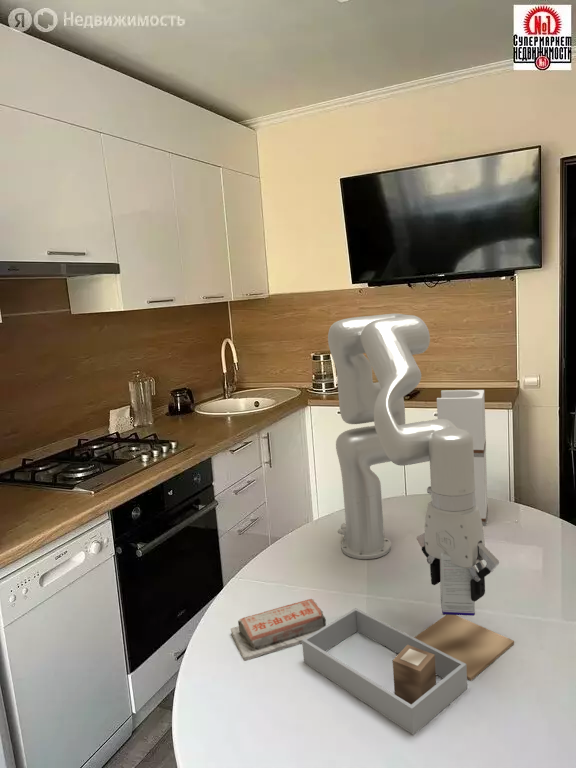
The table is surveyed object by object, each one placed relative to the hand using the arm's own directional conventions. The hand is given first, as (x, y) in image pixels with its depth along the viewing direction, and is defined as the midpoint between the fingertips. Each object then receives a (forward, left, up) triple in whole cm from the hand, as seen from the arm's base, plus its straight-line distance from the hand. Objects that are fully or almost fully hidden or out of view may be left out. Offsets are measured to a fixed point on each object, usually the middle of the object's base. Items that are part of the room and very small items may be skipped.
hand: (457, 589), depth 108 cm
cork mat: (0, 0, -11) cm, 11 cm away
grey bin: (-5, -16, -11) cm, 20 cm away
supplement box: (0, 0, -4) cm, 4 cm away
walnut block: (+2, -16, -11) cm, 20 cm away
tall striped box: (-32, +50, -12) cm, 61 cm away
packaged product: (-28, -20, -12) cm, 37 cm away
